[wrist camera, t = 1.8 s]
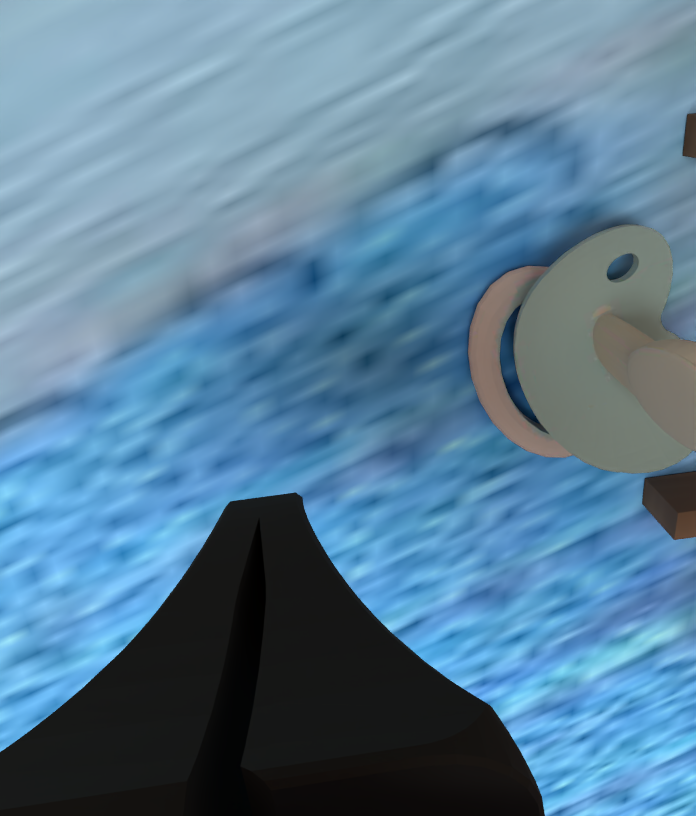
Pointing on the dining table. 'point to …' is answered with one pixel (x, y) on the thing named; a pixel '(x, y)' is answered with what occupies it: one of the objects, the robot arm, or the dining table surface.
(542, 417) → the pacifier
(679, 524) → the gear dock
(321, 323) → the dining table surface
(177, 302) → the dining table surface
